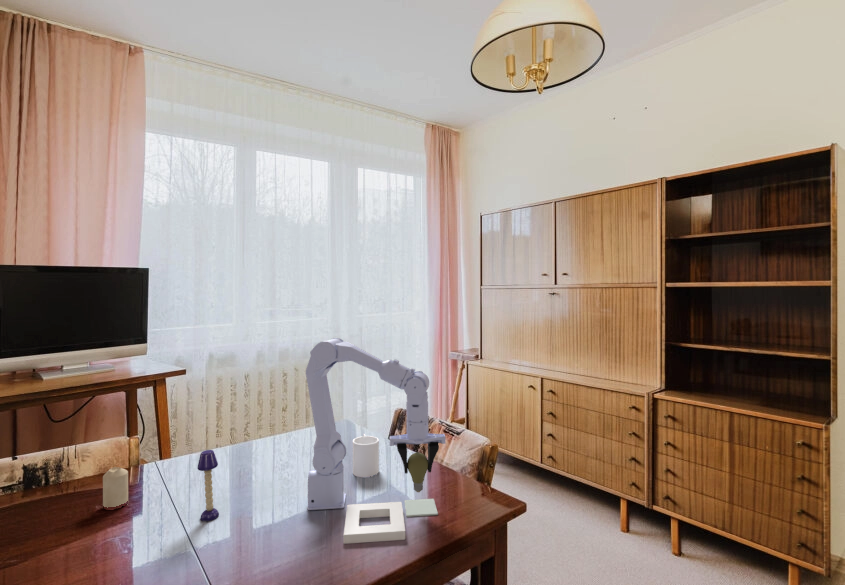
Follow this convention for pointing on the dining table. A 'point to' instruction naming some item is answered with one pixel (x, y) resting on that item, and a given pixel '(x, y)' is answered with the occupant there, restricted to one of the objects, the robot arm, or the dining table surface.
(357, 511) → the socket block
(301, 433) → the dining table surface
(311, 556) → the dining table surface
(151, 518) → the dining table surface
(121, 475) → the candle
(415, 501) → the rubber pad
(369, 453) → the cup
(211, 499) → the toy lamp
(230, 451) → the dining table surface
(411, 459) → the light bulb
